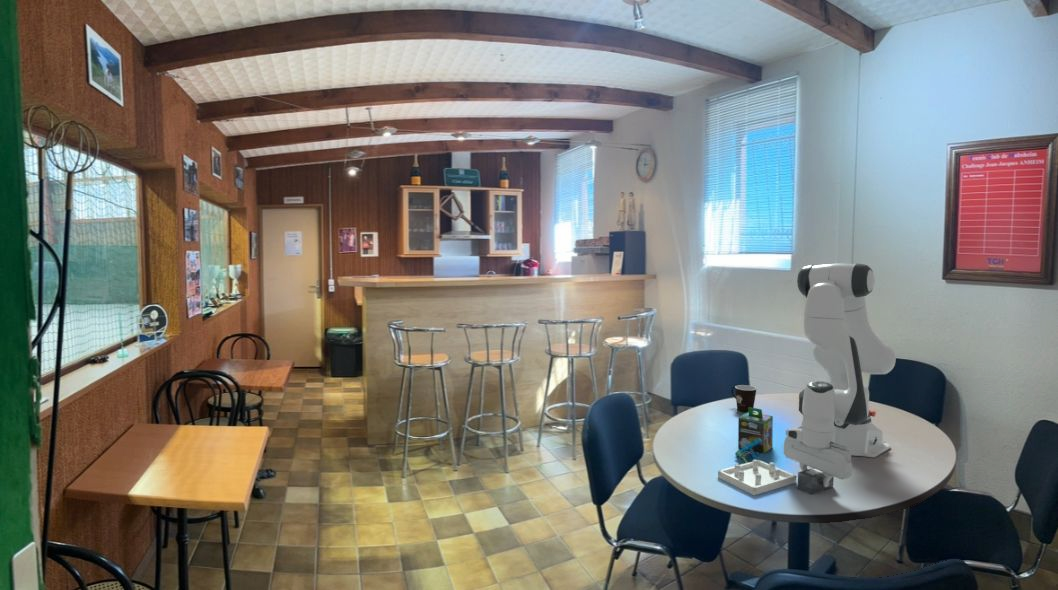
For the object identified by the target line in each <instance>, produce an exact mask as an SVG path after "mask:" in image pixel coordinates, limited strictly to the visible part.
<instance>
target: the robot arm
mask: <svg viewBox="0 0 1058 590" xmlns="http://www.w3.org/2000/svg"><path fill="white" fill-rule="evenodd" d="M796 281H797V288H798V291H799V292H800V293H801V295H803V296H804V297H805V298H806V301H805V305H804V314H803V315H804V316H803V330H804V335H805V336H806V338H807V339H808V341H810V343H812V344H813V345H814V346H813V348H812V355H813V358H814V359H815V362H817V363H818V364H819V366H821V367H822V368H823V369H824V371H825V372H826V373H827V376H828V379H829V380H830V383H828V382H826V381H820V380H812V381H810V382H807V383H806V384H805V387H804V389H803V390H802V391H800V392H799V395H798V412H799V413H800V414H801V415H802V422H801V426H797V427H792V428H789V429H786V430H785V436H786V437H785V438H784V443H783V455H784V456H785V458H787V459H790V460H791V461H795V462H797V463H799V468H800V471H804V470H808V469H809V468H814V469H817V470H819V471H822V472H824V476H826V478H825V479H822V480H821V486H824V487H828V486H829V481H830V479H831V478H832V477H833V476H834V478H838V479H840V480H847V479H850V477H852V475H853V469H852V468H853V467H852V466H853V465H852V456H855V457H867V458H876V457H878V456H879V455H882V454H883V453H885V452H886V451H888V450H890V449H891V445H890V444H889V443H887V442H885V441H884V438H883V437H884V436H883V434H884V433H883V431H882V429H881V428H880V427H878V426H877V425H876V424H875V423H873V421H872V417H873V418H875V417H876V415H877V411H875V410H871V409H870V407H869V402H870V391H869V388H868V387H867V386H866V384H864V379H863V374H868V375H887V374H888V373H890V372H892V370H893V369H894V367H895V366H896V360H897V358H896V353H895V351H894V349H893V348H892V347H891V346H889V345H888V344H886V343H885V342H883V340H881V339H880V338H879V336H877V335H876V333H875V332H874V330H873V329H872V328H871V326H870V322H869V318H868V312H867V307H866V306H867V305H866V296H868V295H869V294H871V293H872V291H873V289H874V285H875V274H874V271H873V269H872V268H871V267H870V266H869V265H867V264H864V263H855V264H854V263H843V262H842V263H841V262H838V263H837V262H834V263H826V264H825V263H824V264H817V265H815V264H810V265H805V266H802V268H801V269H800V270H799V272H798V275H797V280H796ZM808 467H809V468H808Z"/></svg>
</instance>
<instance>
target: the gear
mask: <svg viewBox="0 0 1058 590" xmlns="http://www.w3.org/2000/svg"><path fill="white" fill-rule="evenodd" d="M759 442H761V439H760V438H759V439H757V440H755V441H753V443H750V444H746V445H745V447H743V448H742V449H739V450H737V451H736V452H735V455H734V456H736V457H740V459H743V461H744V463H749V461H748V460H747V458H746V457H745V456H747V455H749V454H751V457H752V458H754V459H753V460H760V459H759V457H758V456H757V455H756V452H753V451H754V450H753V449H752V448H753V447H754V446H755V445H757V444H758V443H759Z"/></svg>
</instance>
